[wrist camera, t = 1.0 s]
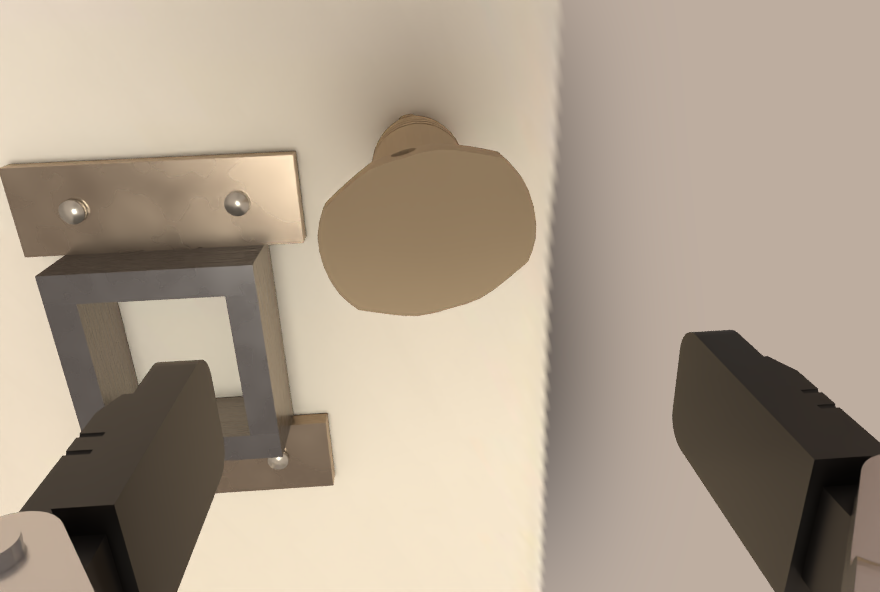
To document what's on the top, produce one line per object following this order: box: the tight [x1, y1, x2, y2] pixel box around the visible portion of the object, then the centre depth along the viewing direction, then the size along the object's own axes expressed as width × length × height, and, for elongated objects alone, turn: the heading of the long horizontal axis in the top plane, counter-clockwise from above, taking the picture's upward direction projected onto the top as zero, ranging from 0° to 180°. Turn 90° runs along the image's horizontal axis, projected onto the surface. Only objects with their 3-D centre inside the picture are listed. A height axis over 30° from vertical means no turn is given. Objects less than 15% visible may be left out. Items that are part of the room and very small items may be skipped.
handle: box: [318, 114, 536, 316], centre depth 26 cm, size 5×6×15 cm
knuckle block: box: [0, 151, 335, 493], centre depth 34 cm, size 20×14×4 cm
